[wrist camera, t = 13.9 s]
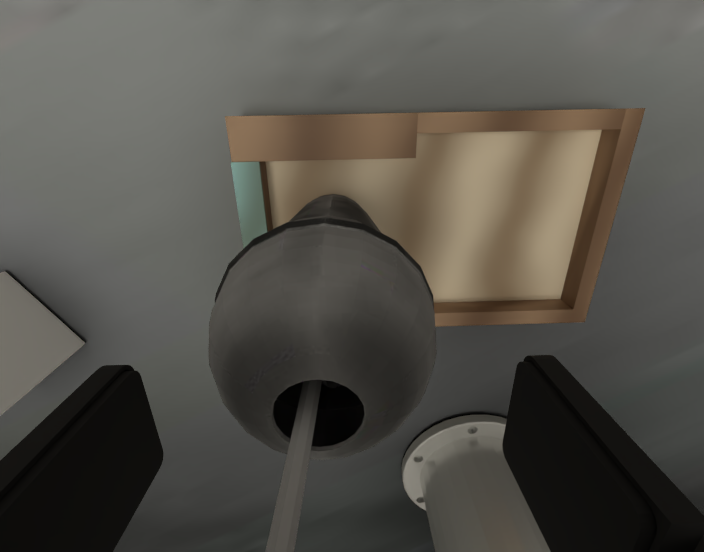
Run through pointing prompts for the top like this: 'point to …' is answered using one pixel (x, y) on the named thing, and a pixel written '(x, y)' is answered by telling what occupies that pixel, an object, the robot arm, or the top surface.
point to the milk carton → (28, 342)
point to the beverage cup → (321, 342)
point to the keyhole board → (456, 196)
